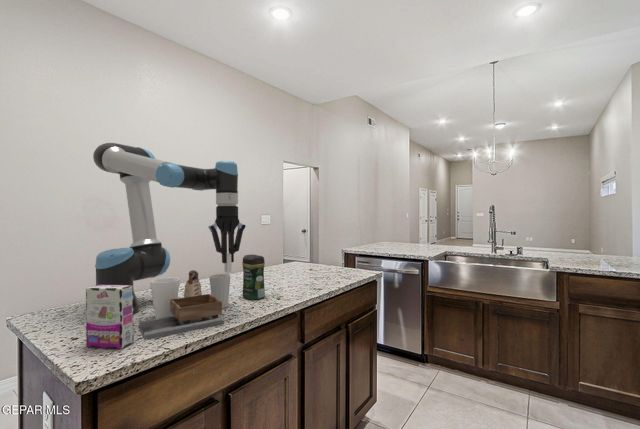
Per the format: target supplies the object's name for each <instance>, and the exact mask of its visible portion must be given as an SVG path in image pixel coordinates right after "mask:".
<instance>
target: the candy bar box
mask: <svg viewBox="0 0 640 429" xmlns="http://www.w3.org/2000/svg"><path fill="white" fill-rule="evenodd" d="M133 289H134V284H133V285H96V284H95V285H93V286H90V287H86V288H85V317H86V318H85V320H86V321H85V326H86V328H85V330H86V334H85V336H86V340H85V341H86V345H85V346H86V348H99V349H113V350H114V349H117V350H121V349H124V348H126V347H128V346H130V345H132V344H134V342H135V338H134V337H135V336H134V335H135V334H134V333H135V332H134V314H133Z"/></svg>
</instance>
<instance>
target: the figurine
mask: <svg viewBox="0 0 640 429" xmlns="http://www.w3.org/2000/svg"><path fill="white" fill-rule="evenodd" d="M202 292H203V291H202V285H201V282H200V279H199V272H198V271H197V270H195V269H194V270H193V269H191V270H190V271H189V272H188V280H187V281H186V282H185V285H184V291H183V298H185V297H191V296H198V295H203V293H202Z"/></svg>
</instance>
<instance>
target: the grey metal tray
mask: <svg viewBox="0 0 640 429" xmlns="http://www.w3.org/2000/svg"><path fill="white" fill-rule="evenodd" d="M223 318H224V317H222V316H218V317H217V318H212V317H211V316H208V317H202V318H197V319H192V320H190V322H189V323H187V324H184V323H183V322H182V321H181V322H179V320H178V319H177V318H176V317H175V316H169V317H164V318H158V319H156V318H153V319H148V320H147V319H146V320H141V321H139V323H138V327H139V330H140V332H141V334H142V335H143V338H144V340H145V341H147V340H146V339H148V340H151V338H153V339H157V338H156V337H158V338H161V337H162V336H163V337H167V336H171V335H177V334H181V333H186V332H191V331H195V330H200V329H206V328H209V327H211V328H212V327H216V326H220V325H224V324H225V323H224V319H223Z"/></svg>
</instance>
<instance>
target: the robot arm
mask: <svg viewBox="0 0 640 429" xmlns="http://www.w3.org/2000/svg"><path fill="white" fill-rule="evenodd" d="M92 154H93V156H92V157H93V162H94V164H95V165H96V167H97V168H99V169H100V170H101V171H104V172H106V173H112V174H118V175H119V181H120V182H122V183H123V184H124V185H125V192H126V199H127V207H128V215H129V220H130V221H129V222H130V228H131V238H132V243H131V244H130V245H129V247H119V248H112V249H107V250H104V251H100V252H99V253H98V254H97V255H96V258H95V265H94V267H95V286H96V285H133V286H134V282H136V281H141V280H144V279H145V280H146V279H151V278H157V277H159V276H162V275H163V274H165V273H166V271H167V270H168V269H169V267H170V264H171V255H170V252H169V251H168V250H167V249H166V248H165V247H163V245H162V242H161V241H160V240H159V239H158V237H157V232H156V225H155V217H154V211H153V210H154V209H153V203H152V196H151V195H152V194H151V188H150V183H151V182H152V181H153V182H156V183H159V184H160V186H163V187H167V188H179V189H181V188H182V189H189V190H192V191H208V190H215V204H216V205H217V206H216V207H215V214H216V215H215V217H216V218H215V220H214V223H212V224H211V225H209V226H208V229H209V231H210V232H211V235H212V239H213V244H214V247H215V252H217V253H219V254H221V263H222V264H224V273H225V274H229V273H232V263H234V261H235V259H234V256H235V254H236V252H239V251H240V247H241V243H242V239H243V233H244V230H245V228H246V224H243V223H241V222H240V219H239V206H238V204H239V191H238V189H239V188H238V182H239V173H238V165H237V164H238V163H236V162H234V161H230V160H220V161H216V163H215V166H214V168H199V167H193V166H187V165H183V164H177V163H173V162H168V161H164V160H162V159H161V160H160V159H157V158H156V157H155V155H154V154H153V153H152V152H151V151H150V150H148V149H144V148H142V147H140V146H139V147H138V146H137V147H135V146H130V145H125V144H120V143H117V142H116V143H115V142H106V143H103V144H99V145H98V146H97V147H96V148H95V150H94V151H93V153H92ZM217 230H219V231H220V237H219V234H218V231H217ZM235 230H237V231H236V234H235ZM235 235H236V236H235ZM220 238H221V239H220ZM139 311H140V303H139V301H138V298H137V296H136V293H135V290H134V288H133V315H135V314H136V313H138V312H139Z"/></svg>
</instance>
